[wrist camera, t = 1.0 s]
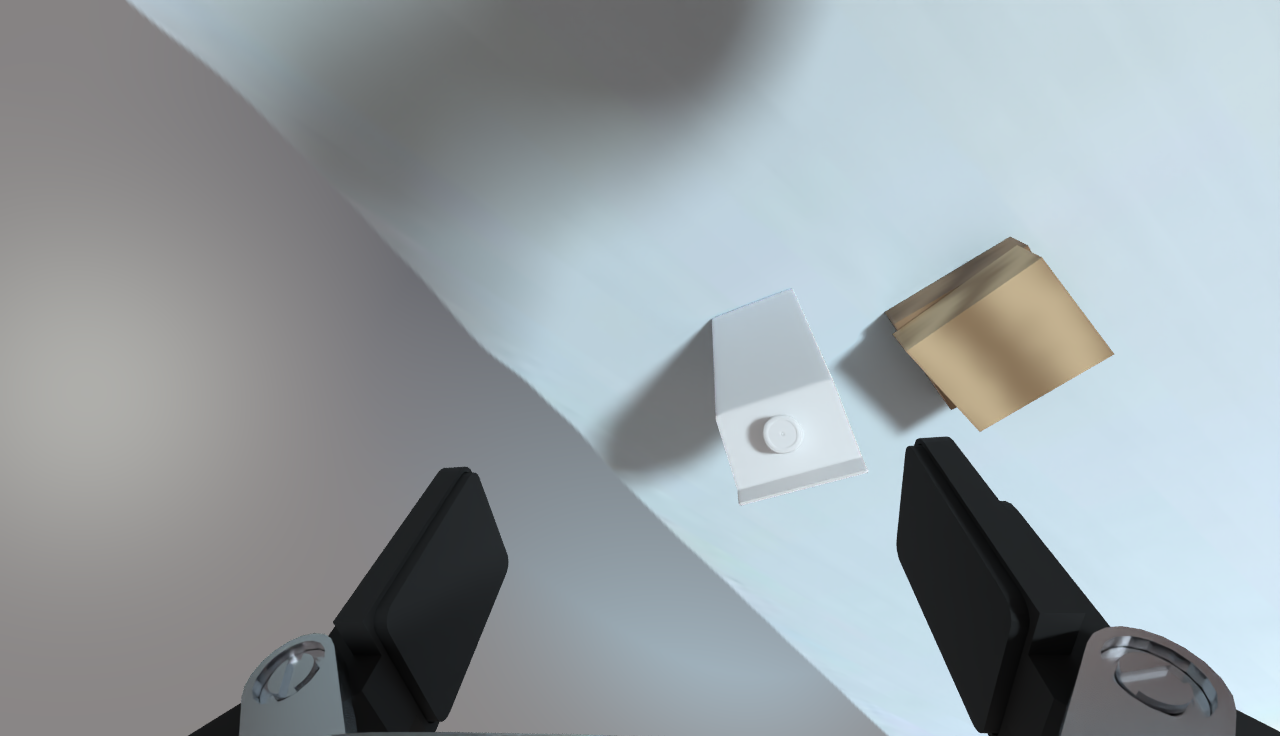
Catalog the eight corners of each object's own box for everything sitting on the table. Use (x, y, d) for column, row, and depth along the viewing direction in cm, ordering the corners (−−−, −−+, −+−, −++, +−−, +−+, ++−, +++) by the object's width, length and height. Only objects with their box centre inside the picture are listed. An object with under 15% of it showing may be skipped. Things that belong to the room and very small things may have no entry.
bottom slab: (1006, 234, 39) (1027, 245, 36) (1056, 329, 42) (1080, 345, 39) (882, 309, 42) (893, 324, 40) (937, 391, 46) (951, 409, 43)
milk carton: (817, 357, 45) (884, 517, 28) (739, 383, 47) (760, 546, 30) (792, 286, 42) (850, 418, 25) (711, 317, 44) (715, 458, 27)
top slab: (1017, 244, 36) (1041, 257, 33) (1086, 336, 39) (1114, 354, 36) (892, 334, 40) (905, 351, 38) (962, 410, 43) (979, 431, 40)
